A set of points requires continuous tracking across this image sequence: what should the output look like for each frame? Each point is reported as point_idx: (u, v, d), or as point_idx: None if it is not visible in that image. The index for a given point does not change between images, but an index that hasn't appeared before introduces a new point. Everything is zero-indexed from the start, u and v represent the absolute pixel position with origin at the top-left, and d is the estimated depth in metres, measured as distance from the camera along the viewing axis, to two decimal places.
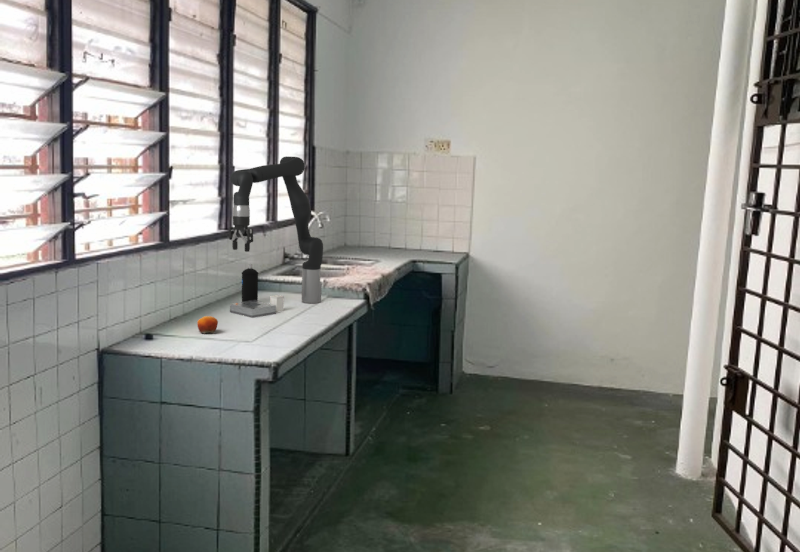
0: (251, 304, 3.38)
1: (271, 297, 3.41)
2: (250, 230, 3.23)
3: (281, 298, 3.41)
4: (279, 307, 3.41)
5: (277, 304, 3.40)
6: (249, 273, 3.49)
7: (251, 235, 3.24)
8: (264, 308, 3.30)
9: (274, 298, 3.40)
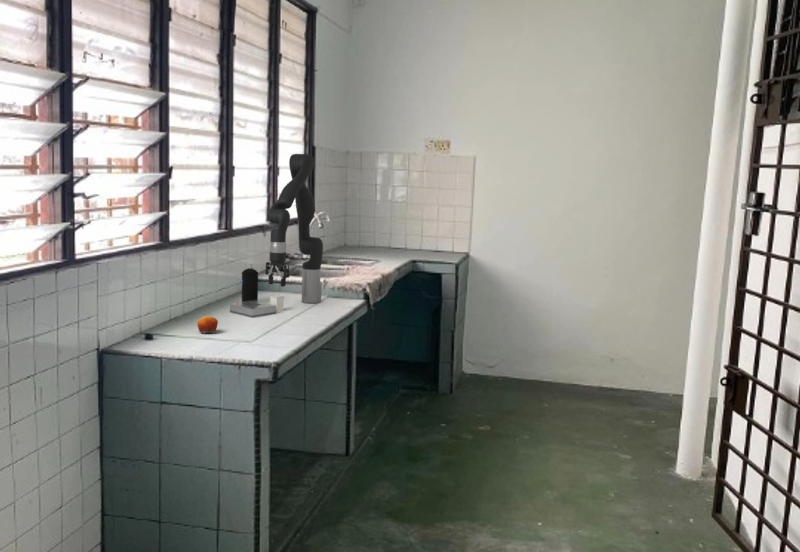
0: (251, 304, 3.38)
1: (271, 297, 3.41)
2: (286, 266, 3.35)
3: (281, 298, 3.41)
4: (279, 307, 3.41)
5: (277, 304, 3.40)
6: (249, 273, 3.49)
7: (287, 271, 3.36)
8: (264, 308, 3.30)
9: (274, 298, 3.40)
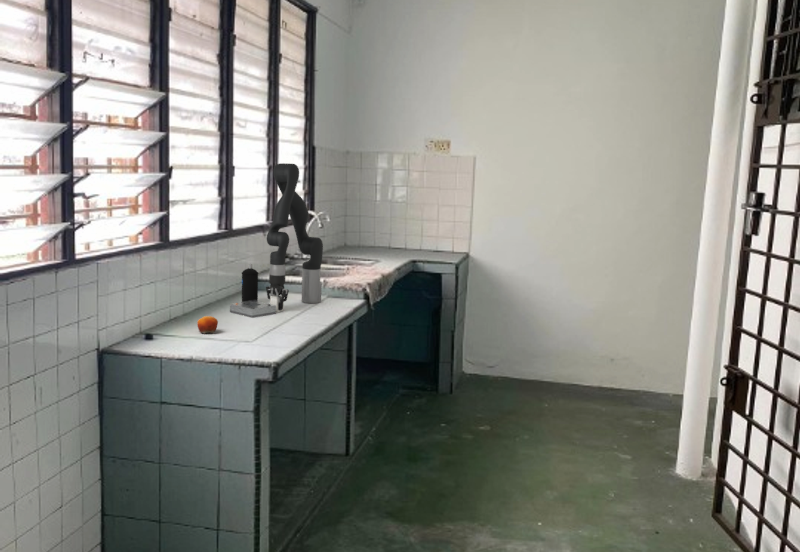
0: (251, 304, 3.38)
1: (271, 297, 3.41)
2: (286, 291, 3.37)
3: None
4: None
5: (277, 304, 3.40)
6: (249, 273, 3.49)
7: (286, 296, 3.38)
8: (264, 308, 3.30)
9: (274, 298, 3.40)
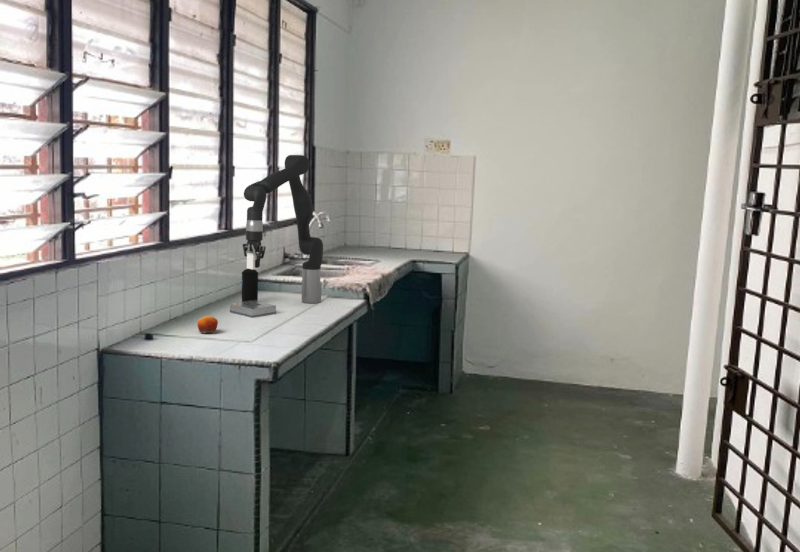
0: (251, 304, 3.38)
1: (248, 254, 3.31)
2: (263, 248, 3.27)
3: None
4: None
5: (254, 261, 3.29)
6: (249, 273, 3.49)
7: (263, 252, 3.28)
8: (264, 308, 3.30)
9: (251, 255, 3.29)
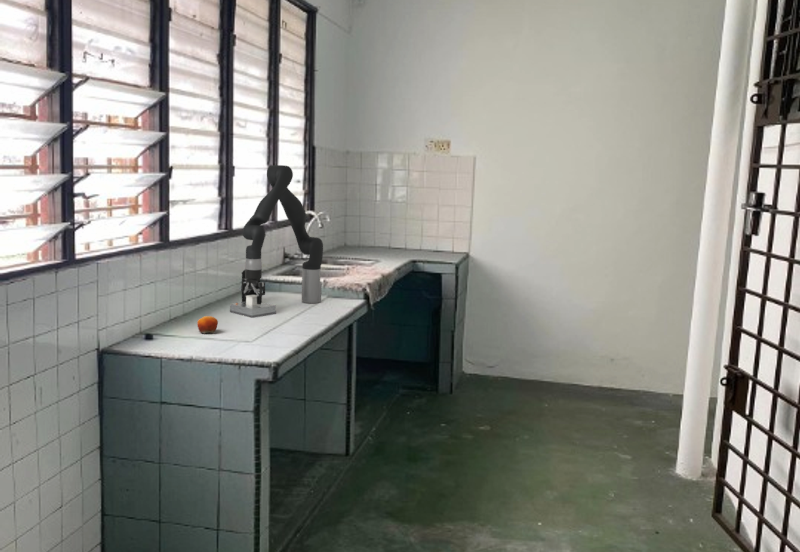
0: None
1: (247, 297, 3.34)
2: (262, 283, 3.29)
3: None
4: None
5: (253, 304, 3.32)
6: None
7: (263, 288, 3.30)
8: (264, 308, 3.30)
9: (250, 298, 3.32)
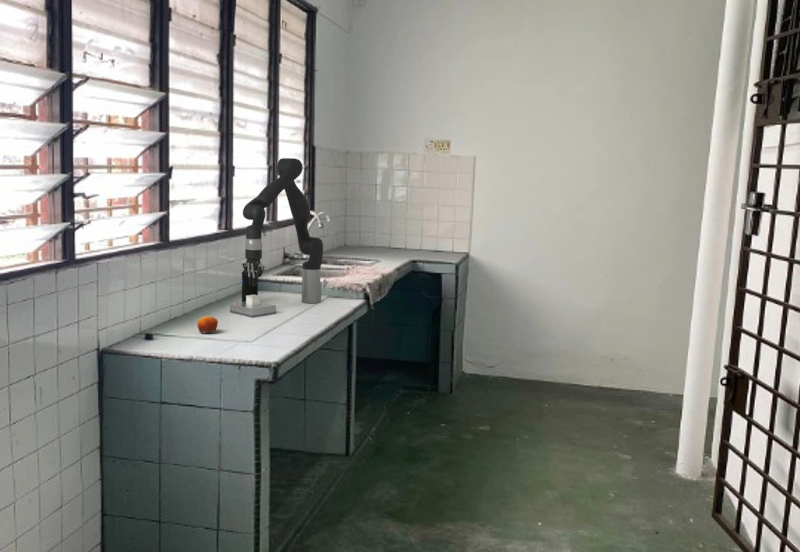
0: None
1: (247, 297, 3.34)
2: (262, 268, 3.28)
3: (257, 298, 3.34)
4: None
5: (253, 304, 3.32)
6: None
7: (261, 272, 3.30)
8: (264, 308, 3.30)
9: (250, 298, 3.32)
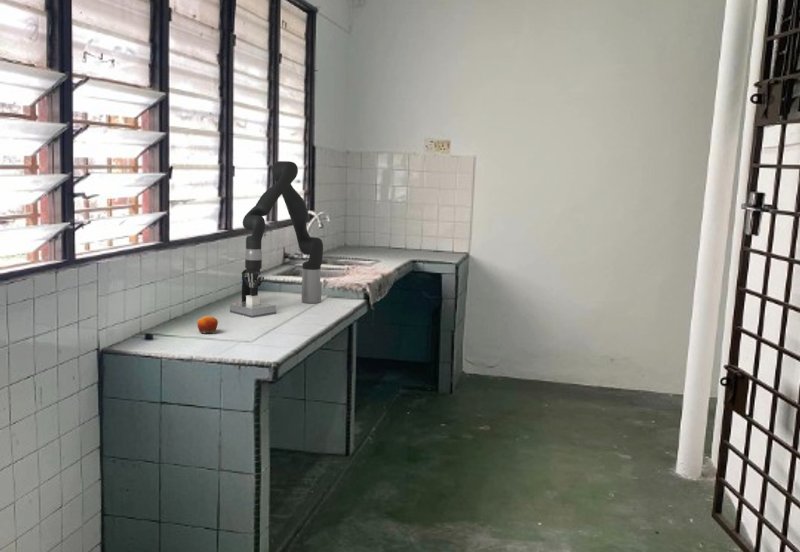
0: None
1: (247, 297, 3.34)
2: (261, 279, 3.29)
3: (257, 298, 3.34)
4: None
5: (253, 304, 3.32)
6: None
7: (260, 282, 3.31)
8: (264, 308, 3.30)
9: (250, 298, 3.32)
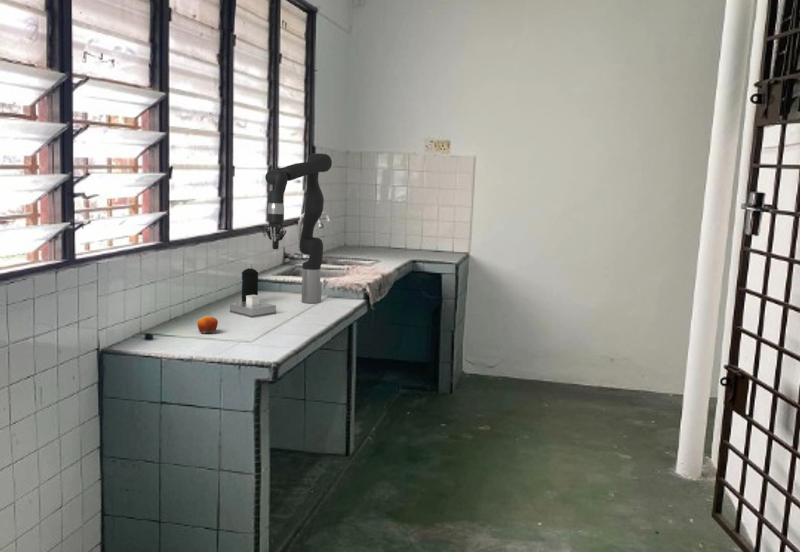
0: None
1: (247, 297, 3.34)
2: (283, 232, 3.38)
3: (257, 298, 3.34)
4: None
5: (253, 304, 3.32)
6: (249, 273, 3.49)
7: (282, 236, 3.39)
8: (264, 308, 3.30)
9: (250, 298, 3.32)
